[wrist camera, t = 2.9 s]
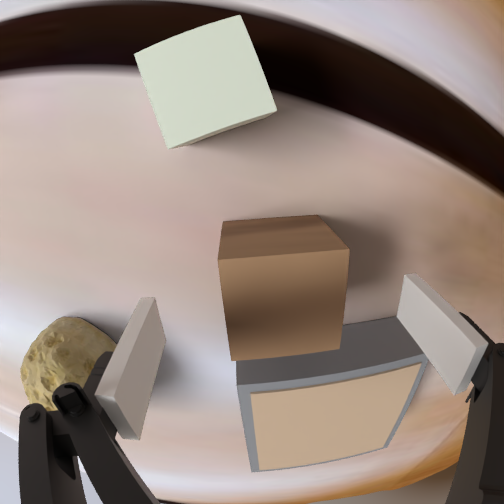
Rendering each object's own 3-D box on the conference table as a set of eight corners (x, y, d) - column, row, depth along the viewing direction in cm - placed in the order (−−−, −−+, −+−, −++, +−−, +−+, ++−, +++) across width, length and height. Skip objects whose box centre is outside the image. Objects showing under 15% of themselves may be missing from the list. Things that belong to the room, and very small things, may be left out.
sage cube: (160, 73, 15) (134, 54, 10) (238, 45, 14) (240, 14, 10) (186, 145, 17) (167, 149, 12) (265, 117, 16) (277, 110, 12)
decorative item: (74, 290, 24) (-10, 336, 16) (129, 329, 19) (15, 402, 11) (104, 364, 28) (37, 409, 20) (162, 411, 22) (81, 474, 15)
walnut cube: (222, 221, 19) (217, 259, 13) (316, 214, 19) (349, 248, 13) (231, 303, 21) (231, 360, 15) (315, 295, 21) (339, 348, 15)
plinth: (235, 337, 22) (236, 387, 17) (403, 314, 22) (432, 352, 17) (249, 433, 27) (251, 473, 22) (373, 413, 27) (387, 448, 23)
